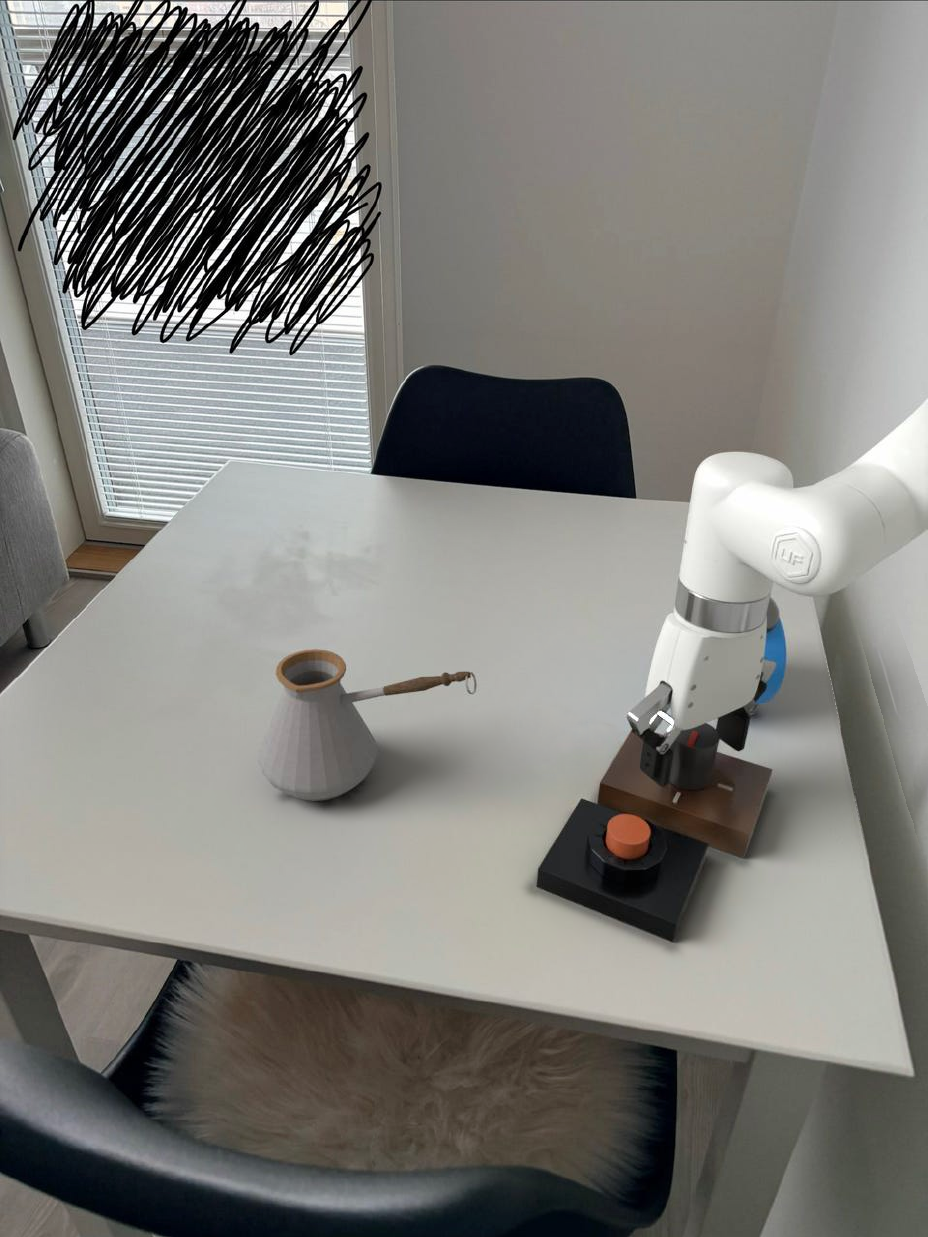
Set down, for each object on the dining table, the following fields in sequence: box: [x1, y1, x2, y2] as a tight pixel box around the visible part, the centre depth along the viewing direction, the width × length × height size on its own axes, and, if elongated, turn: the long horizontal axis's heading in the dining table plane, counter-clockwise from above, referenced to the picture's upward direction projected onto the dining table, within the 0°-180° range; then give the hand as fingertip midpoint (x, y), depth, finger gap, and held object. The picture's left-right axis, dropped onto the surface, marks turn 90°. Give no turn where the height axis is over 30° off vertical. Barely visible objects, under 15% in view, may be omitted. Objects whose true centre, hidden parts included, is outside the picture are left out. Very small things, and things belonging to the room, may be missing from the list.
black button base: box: [536, 797, 709, 943], centre depth 76 cm, size 12×10×4 cm
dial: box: [669, 722, 721, 790], centre depth 82 cm, size 4×4×5 cm
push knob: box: [606, 814, 651, 859], centre depth 74 cm, size 4×4×2 cm
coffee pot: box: [258, 648, 477, 802], centre depth 82 cm, size 21×12×15 cm, turn 76°
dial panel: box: [596, 729, 773, 859], centre depth 84 cm, size 14×10×3 cm
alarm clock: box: [756, 596, 787, 705], centre depth 96 cm, size 13×6×15 cm, turn 11°
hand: (692, 759), depth 82 cm, fingers open, 9 cm apart
